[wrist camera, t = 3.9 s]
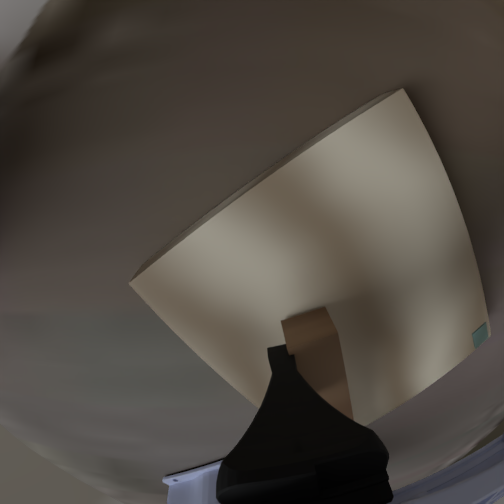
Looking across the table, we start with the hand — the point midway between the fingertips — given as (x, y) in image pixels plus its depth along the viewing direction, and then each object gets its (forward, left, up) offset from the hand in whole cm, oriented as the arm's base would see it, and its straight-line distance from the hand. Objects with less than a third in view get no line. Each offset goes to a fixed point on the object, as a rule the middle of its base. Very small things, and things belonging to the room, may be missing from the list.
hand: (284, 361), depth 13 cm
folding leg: (0, -4, -1) cm, 4 cm away
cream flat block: (+4, -1, -3) cm, 5 cm away
